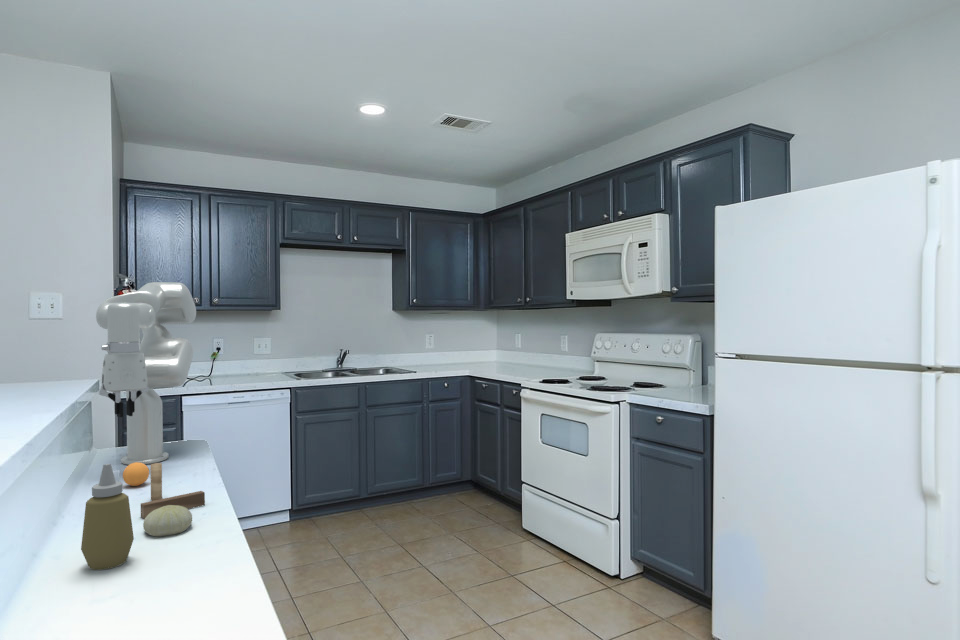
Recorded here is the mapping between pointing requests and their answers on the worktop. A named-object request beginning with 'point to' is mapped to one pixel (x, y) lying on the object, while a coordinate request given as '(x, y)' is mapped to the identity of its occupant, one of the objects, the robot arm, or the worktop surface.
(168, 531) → the sea urchin shell
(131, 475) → the ball
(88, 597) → the worktop surface
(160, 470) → the maple pin
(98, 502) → the squeeze bottle
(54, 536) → the worktop surface
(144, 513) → the back wall
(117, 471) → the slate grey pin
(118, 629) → the worktop surface
